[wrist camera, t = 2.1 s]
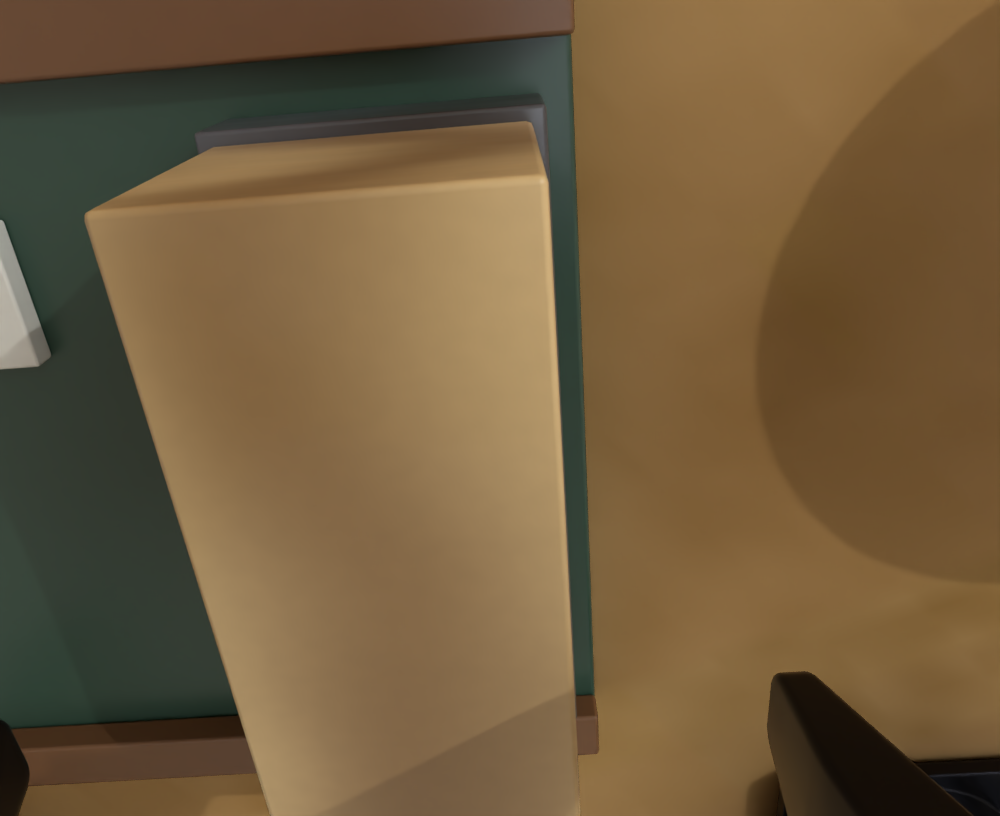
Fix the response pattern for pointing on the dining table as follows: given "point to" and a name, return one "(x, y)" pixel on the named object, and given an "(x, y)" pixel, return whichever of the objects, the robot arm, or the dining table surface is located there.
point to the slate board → (104, 365)
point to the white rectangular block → (17, 314)
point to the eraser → (367, 445)
